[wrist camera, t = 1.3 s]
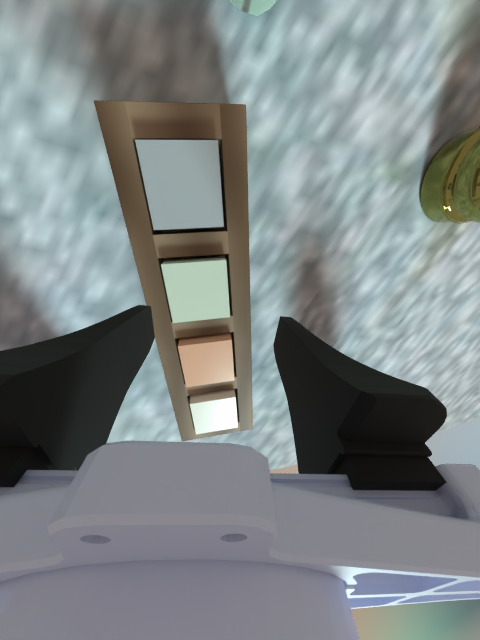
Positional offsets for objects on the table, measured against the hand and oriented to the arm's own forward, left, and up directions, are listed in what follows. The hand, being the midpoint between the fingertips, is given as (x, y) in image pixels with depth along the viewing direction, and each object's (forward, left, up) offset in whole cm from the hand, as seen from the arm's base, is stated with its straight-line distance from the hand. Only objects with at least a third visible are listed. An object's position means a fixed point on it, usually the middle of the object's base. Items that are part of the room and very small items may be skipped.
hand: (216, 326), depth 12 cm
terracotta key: (-1, -6, -6) cm, 8 cm away
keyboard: (-1, -2, -9) cm, 10 cm away
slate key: (-1, +7, -6) cm, 10 cm away
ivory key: (-1, -12, -6) cm, 14 cm away
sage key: (-1, +1, -6) cm, 6 cm away
